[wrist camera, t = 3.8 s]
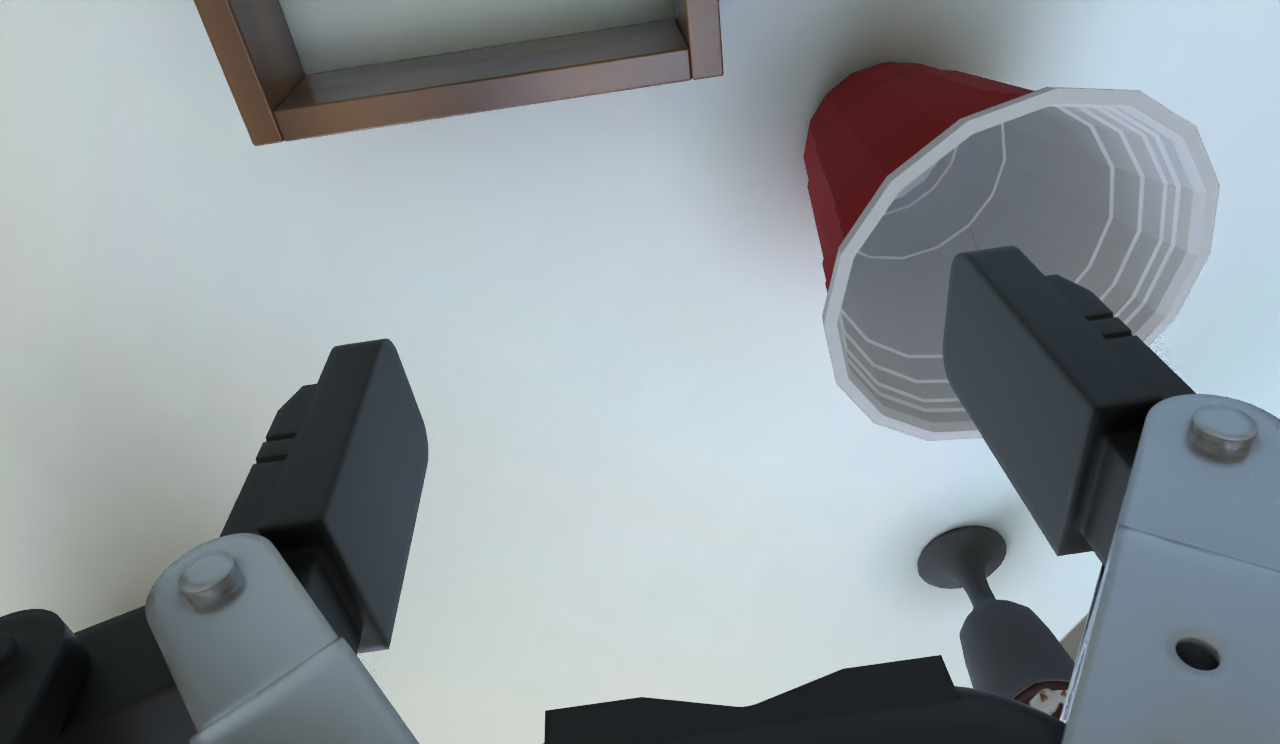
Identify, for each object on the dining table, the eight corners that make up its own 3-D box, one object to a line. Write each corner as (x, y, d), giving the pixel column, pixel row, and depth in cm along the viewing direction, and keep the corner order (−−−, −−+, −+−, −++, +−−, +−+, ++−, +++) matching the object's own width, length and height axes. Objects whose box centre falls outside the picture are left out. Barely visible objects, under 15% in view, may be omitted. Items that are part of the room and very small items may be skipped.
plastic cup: (942, 288, 36) (1084, 476, 26) (706, 235, 33) (765, 420, 24) (1081, 32, 30) (1334, 151, 20) (807, -53, 27) (941, 34, 18)
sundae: (877, 581, 47) (988, 861, 34) (951, 501, 43) (1103, 780, 31) (967, 607, 49) (1102, 882, 36) (1045, 533, 45) (1221, 808, 33)
